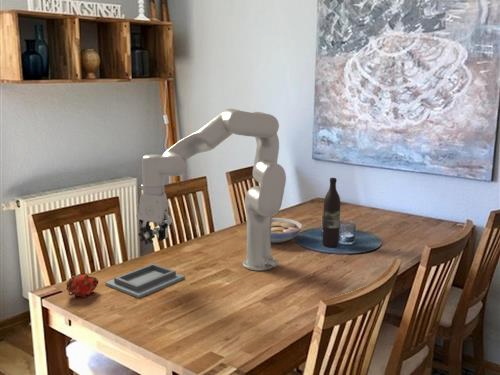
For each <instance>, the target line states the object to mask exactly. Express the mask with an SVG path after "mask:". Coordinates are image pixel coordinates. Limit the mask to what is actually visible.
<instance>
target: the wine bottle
mask: <svg viewBox="0 0 500 375" xmlns="http://www.w3.org/2000/svg"><path fill="white" fill-rule="evenodd" d="M337 179H338V178H336V177H330V178H329V188H328V191H327V192H326V194H325V196H324V199H323V213H322V214H323V216H322V219H323V220H322V241H321V244H322V246H324V247H325V248H336V247H339V243H340V225H341V224H340V221H341V220H340V219H341V198H340V195H339V193H338V190H337V181H338V180H337Z"/></svg>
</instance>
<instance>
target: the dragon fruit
mask: <svg viewBox="0 0 500 375" xmlns="http://www.w3.org/2000/svg"><path fill="white" fill-rule="evenodd" d="M65 284H66V287H65V289H66V291H67V293H68V295H69V296H74V297H75V298H78V297H81V298H86V296H89V295H90V296H91V295H93V294H94V293H95V290H96V288H97V287H98V285H99V280H98V278H97V277H95V276H89V274H88V273H84V274H83V275H82V274H81V273H79V274H77V275H71V277H70V278H69V279H68V281H67V282H66V283H65Z"/></svg>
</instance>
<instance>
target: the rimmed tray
mask: <svg viewBox="0 0 500 375" xmlns="http://www.w3.org/2000/svg"><path fill="white" fill-rule="evenodd" d="M176 271H177V270H174V269H171V268H167V267H166V266H161V265H159V264H156V263H150V264H148V265H145V266H142V267H140V268H137V269H134V270H132V271H128V272H126V273H123V274H121V275H118V276H115V277H114V278H113V279H110V280H107V281H106V282H104V283H105V286H108V287H110V288H112V289H114V290H117V291H119V292H121V293H124V294H127V295H130V296H132V297H135V298H137V299H140V298H142V297H146V296H147V295H150V294H152V293H154V292H157V291H160V290H161V289H163V288H166V287H169V286H171V285H173V284H175V283H178V282H180V281H182V280H184V279H185V278H186V276H185V275H182V274H180V273H177V272H176Z"/></svg>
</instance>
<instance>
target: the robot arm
mask: <svg viewBox="0 0 500 375" xmlns="http://www.w3.org/2000/svg"><path fill="white" fill-rule="evenodd" d="M279 128H280V124H279V120H278V119H277V118H276V116H274V115H272V114H271V113H270V114H269V113H265V112H262V111H253V112H249V111H246V110H245V111H244V110H240V109H236V108H227V109H225V110H224V111H222V112H220V113H218V115H217V116H215V117H214V118H213V119H211V120H210V121H209V122H208V123H206V124H205V125H203V126H202V127H201V128H200V129H198V130H197V131H195V132H192V133H191V134H189V135H188V136H186V137H183V138H182V139H180V140H179V141H177V142H176V143H175V144H173V145H171V147H169V148H168V149H167V150H166V151H164V152H163V154H162V155H160V154H156V153H155V154H154V153H153V154H145V155H144V156H143V157H142V158H141V159H142V160H141V164H142V165H141V169H142V170H141V171H142V174H141V175H142V184H141V185H140V189H141V190H142V192H141V194H140V197H139V204H138V213H137V214H136V215H135V216H136V219H138V220H139V222H140V223H141V226H142V227H141V228H144V227H146V226H148V230H150V229H152V226H151V225H150V223H154V224H157V223H158V225H159V228H160V230H159V231H158V234H159V238H158V241H159V242H161V241H163V240H165V239H166V238H165V237H166V233H165V229H166V228H167V227H168V228H169V226H170V225H171V224H172V223H173V222H174V220H173V219H172V217H171V216H170V214H169V205H168V203H169V202H168V199H167V194H166V193H165V176H170V177H179V176H182V175H184V174H185V173H186V171H187V170H188V162H187V161H188V159H190V158H191V157H193V156H196V155H198V154H200V153H204V152H209V151H212V150H214V149H215V148H216V147H218V146H219V145H220V144H221V143H223V142H224V141H225V140H226V139H228V138H229V137H230V136H232V135H233V134H234V135H238V136H244V137H252V138H255V141H256V150H255V156H254V160H253V167H252V177H253V180H255V181H256V182H257V183H258V184H260V185H255V186H252V187H250V188H249V189H247V191H246V193H245V196H244V197H245V198H244V206H245V211H246V212H245V213H246V214H245V215H246V258H245V259H243V261H242V266H243V267H244V268H245V269H247V270H252V271H267V270H270V269H271V270H272V268H276V267H277V266H278V263H279V260H278V259H274V255H273V254H272V248H271V247H272V242H271V218H274V216H276V215H277V214H278V213H279V211H280V209H281V207H282V204H283V197H284V192H285V187H286V183H287V182H286V181H287V174H286V171H285V168H284V167H283V166H282V165H281V164H279V163H278V158H279V150H280V140H279V136H278V135H279V134H278V131H279ZM165 220H167V222H165ZM162 224H163V226H162ZM158 225H157V226H158ZM144 230H145V229H144ZM144 234H145V232H144V233H143V236H144ZM144 238H145V236H144ZM145 239H146V238H145Z"/></svg>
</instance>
